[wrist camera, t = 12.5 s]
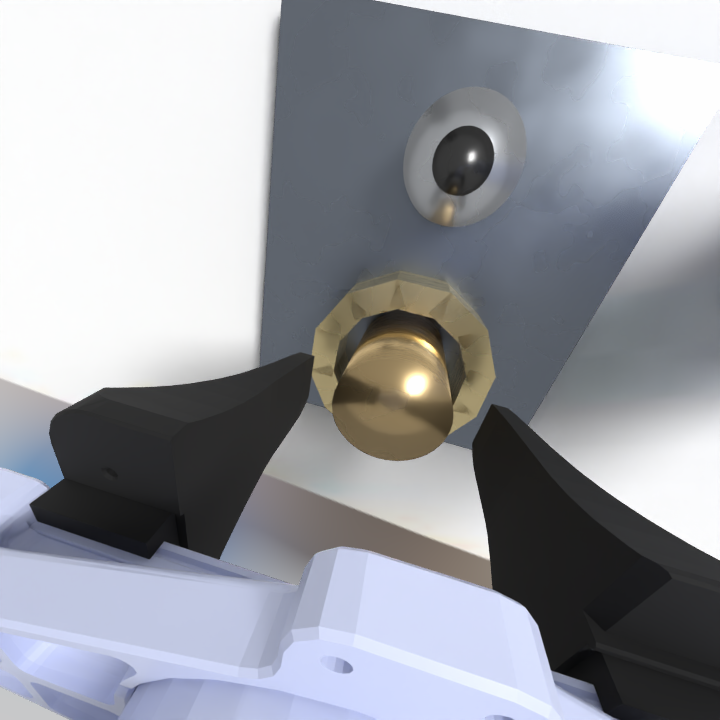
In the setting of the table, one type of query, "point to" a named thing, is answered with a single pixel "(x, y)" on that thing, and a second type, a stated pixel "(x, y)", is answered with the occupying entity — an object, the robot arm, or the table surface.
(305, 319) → the fitting plate
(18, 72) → the table surface
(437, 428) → the gold metal knob
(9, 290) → the table surface
